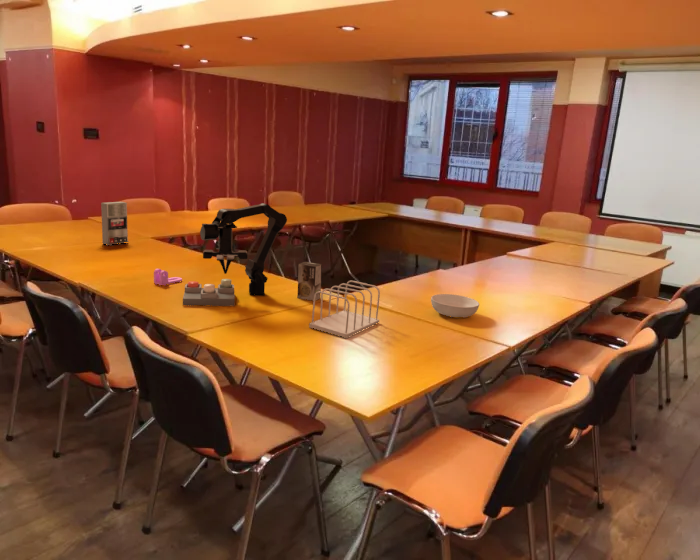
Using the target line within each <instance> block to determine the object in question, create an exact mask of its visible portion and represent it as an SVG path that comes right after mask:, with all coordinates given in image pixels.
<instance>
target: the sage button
mask: <svg viewBox="0 0 700 560" xmlns="http://www.w3.org/2000/svg"><path fill="white" fill-rule="evenodd" d="M220 284H221V287H222V288H231V284H232V279H230V278H222V279H221V280H220Z"/></svg>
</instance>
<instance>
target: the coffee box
mask: <svg viewBox="0 0 700 560" xmlns="http://www.w3.org/2000/svg"><path fill="white" fill-rule="evenodd" d="M322 273H323V264H322V263H316V262H310V261H303V262H300V263H298V274H297V275H298V276H297V277H298V278H297V299H301V300H306V299H307V301H311V300H312V302H313V300H314V294H315V293H316V292H318V291H321V292H322ZM319 299H320V300H321V293H317V294H316V297H315V301H317V300H319Z"/></svg>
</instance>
